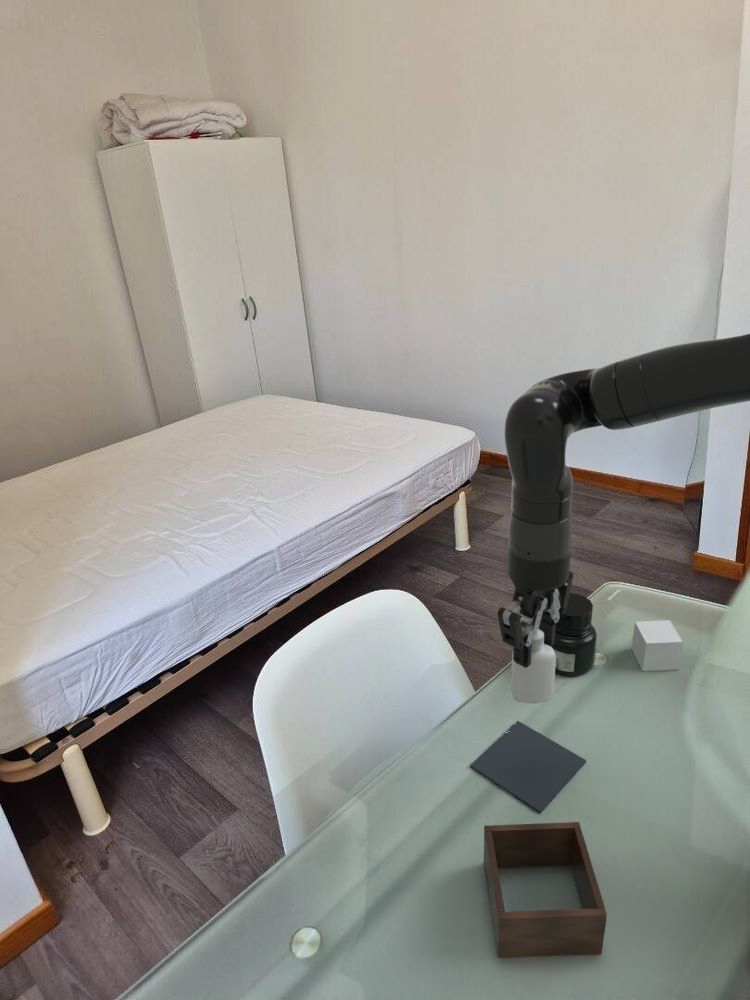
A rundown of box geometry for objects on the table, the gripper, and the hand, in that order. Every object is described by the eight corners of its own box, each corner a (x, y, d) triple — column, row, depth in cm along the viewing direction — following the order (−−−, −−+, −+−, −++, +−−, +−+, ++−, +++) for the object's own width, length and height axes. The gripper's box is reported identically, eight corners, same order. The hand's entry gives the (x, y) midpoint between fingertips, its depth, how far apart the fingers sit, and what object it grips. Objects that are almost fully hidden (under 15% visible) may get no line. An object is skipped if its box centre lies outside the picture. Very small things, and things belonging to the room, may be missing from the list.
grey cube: (642, 671, 117) (646, 643, 115) (631, 649, 123) (634, 621, 120) (678, 669, 117) (683, 641, 114) (665, 647, 122) (669, 620, 120)
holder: (575, 859, 87) (579, 821, 84) (601, 954, 77) (607, 915, 74) (483, 862, 87) (483, 825, 84) (497, 957, 77) (498, 918, 74)
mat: (586, 762, 101) (586, 760, 101) (540, 813, 93) (540, 811, 93) (517, 722, 109) (517, 720, 108) (470, 767, 101) (470, 765, 101)
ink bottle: (531, 650, 124) (533, 595, 119) (574, 638, 126) (578, 583, 121) (560, 684, 116) (564, 626, 110) (605, 671, 118) (612, 613, 113)
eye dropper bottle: (517, 680, 98) (519, 610, 93) (556, 691, 95) (561, 620, 90) (507, 699, 94) (508, 629, 89) (547, 712, 92) (551, 640, 87)
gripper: (532, 578, 77) (527, 694, 85) (597, 530, 86) (587, 639, 94) (478, 556, 82) (478, 668, 90) (545, 513, 91) (540, 618, 98)
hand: (534, 653), depth 92 cm, fingers closed on eye dropper bottle, 5 cm apart
